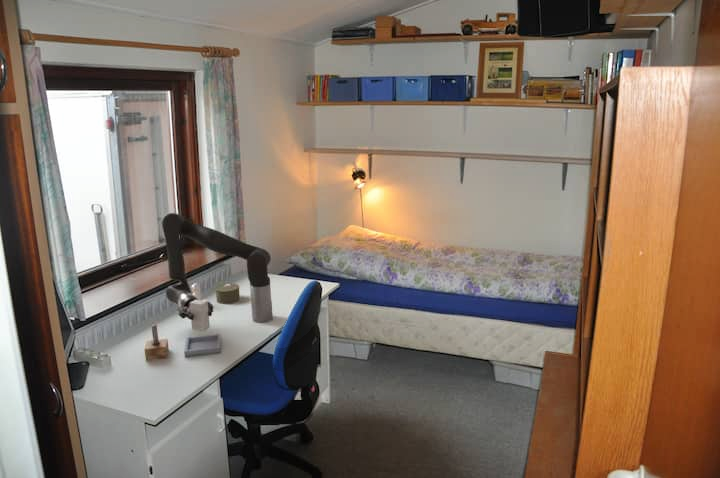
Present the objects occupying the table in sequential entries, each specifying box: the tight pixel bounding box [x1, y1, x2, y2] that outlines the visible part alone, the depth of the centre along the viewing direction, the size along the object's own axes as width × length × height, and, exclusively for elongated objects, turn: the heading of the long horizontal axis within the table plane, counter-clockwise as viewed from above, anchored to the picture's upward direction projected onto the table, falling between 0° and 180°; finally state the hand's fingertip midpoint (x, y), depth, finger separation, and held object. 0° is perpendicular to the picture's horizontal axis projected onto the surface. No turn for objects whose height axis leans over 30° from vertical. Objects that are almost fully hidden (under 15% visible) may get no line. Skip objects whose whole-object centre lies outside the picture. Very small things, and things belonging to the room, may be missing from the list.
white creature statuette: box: [189, 283, 210, 302], centre depth 279 cm, size 10×9×12 cm
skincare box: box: [190, 299, 211, 332], centre depth 231 cm, size 6×4×12 cm
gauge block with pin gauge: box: [144, 324, 170, 362], centre depth 227 cm, size 8×8×13 cm
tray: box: [184, 333, 222, 358], centre depth 234 cm, size 14×14×2 cm
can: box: [214, 283, 241, 305], centre depth 289 cm, size 12×12×7 cm
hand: (201, 315), depth 229 cm, fingers closed on skincare box, 6 cm apart
